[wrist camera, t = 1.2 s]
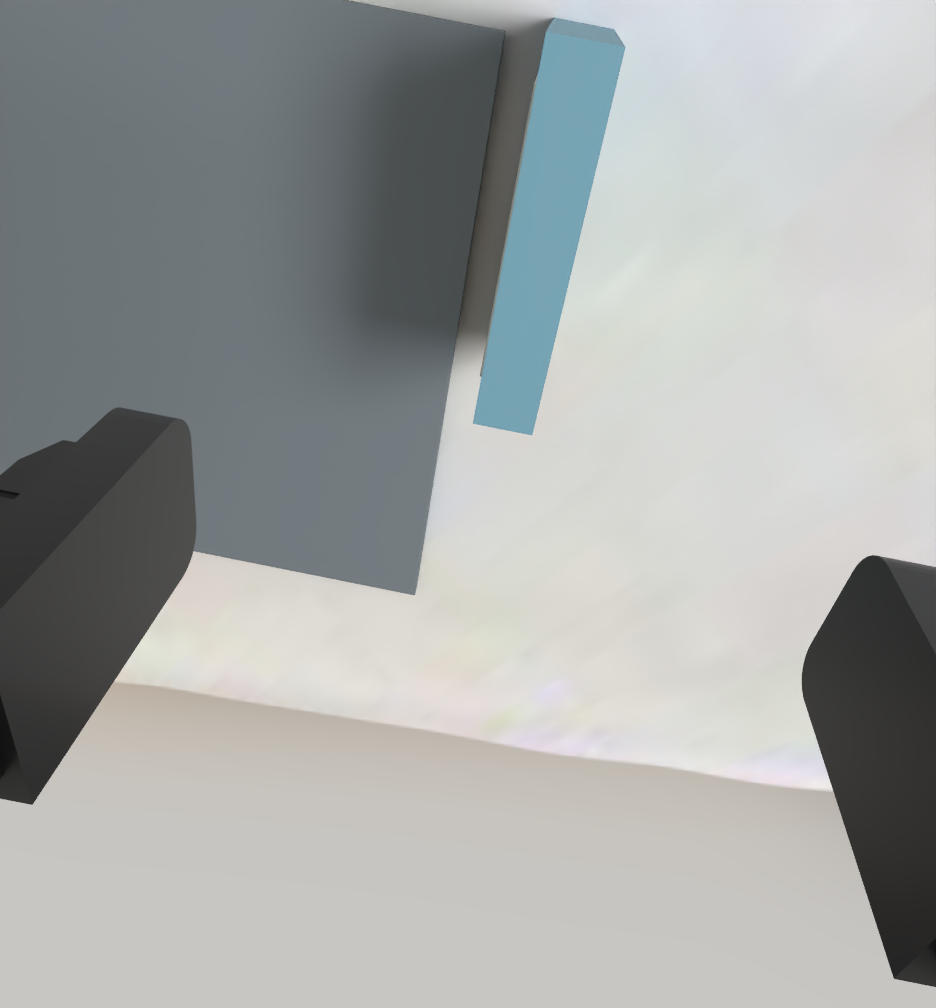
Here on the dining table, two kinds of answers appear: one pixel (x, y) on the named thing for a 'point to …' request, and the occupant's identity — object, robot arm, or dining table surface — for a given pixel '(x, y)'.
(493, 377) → the card box
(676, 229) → the dining table surface
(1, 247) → the mat
